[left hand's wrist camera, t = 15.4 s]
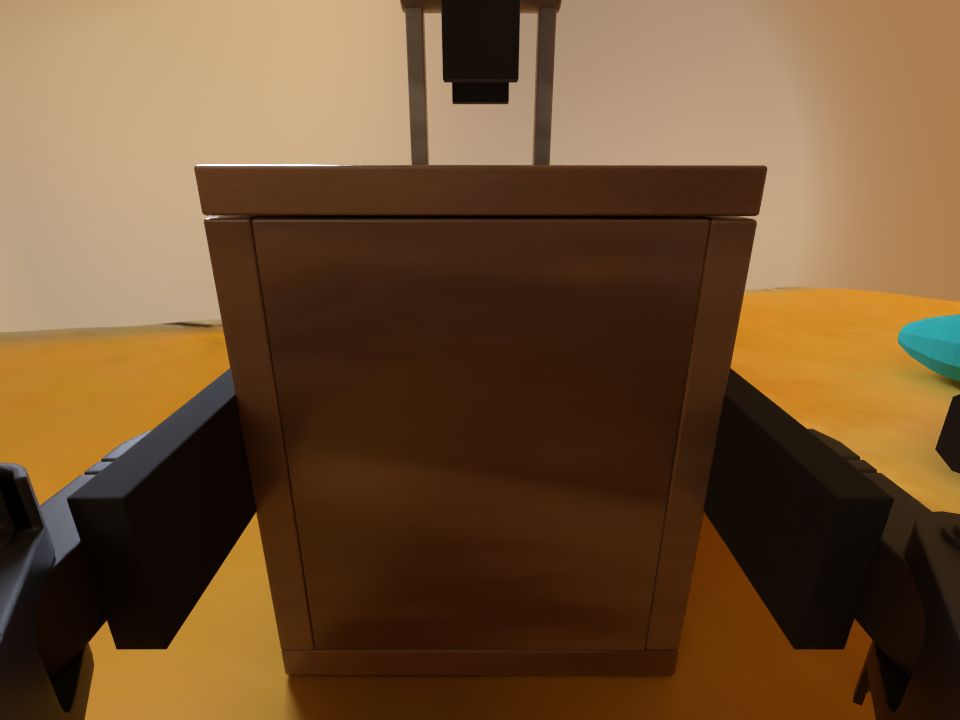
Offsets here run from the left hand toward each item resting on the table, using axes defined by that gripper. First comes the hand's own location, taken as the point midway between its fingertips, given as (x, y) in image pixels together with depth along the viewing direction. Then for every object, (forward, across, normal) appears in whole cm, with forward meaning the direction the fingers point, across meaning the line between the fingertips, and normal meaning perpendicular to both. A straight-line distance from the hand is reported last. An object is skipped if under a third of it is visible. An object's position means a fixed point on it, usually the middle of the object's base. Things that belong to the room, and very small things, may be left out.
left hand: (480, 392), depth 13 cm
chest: (+5, 0, -6) cm, 8 cm away
